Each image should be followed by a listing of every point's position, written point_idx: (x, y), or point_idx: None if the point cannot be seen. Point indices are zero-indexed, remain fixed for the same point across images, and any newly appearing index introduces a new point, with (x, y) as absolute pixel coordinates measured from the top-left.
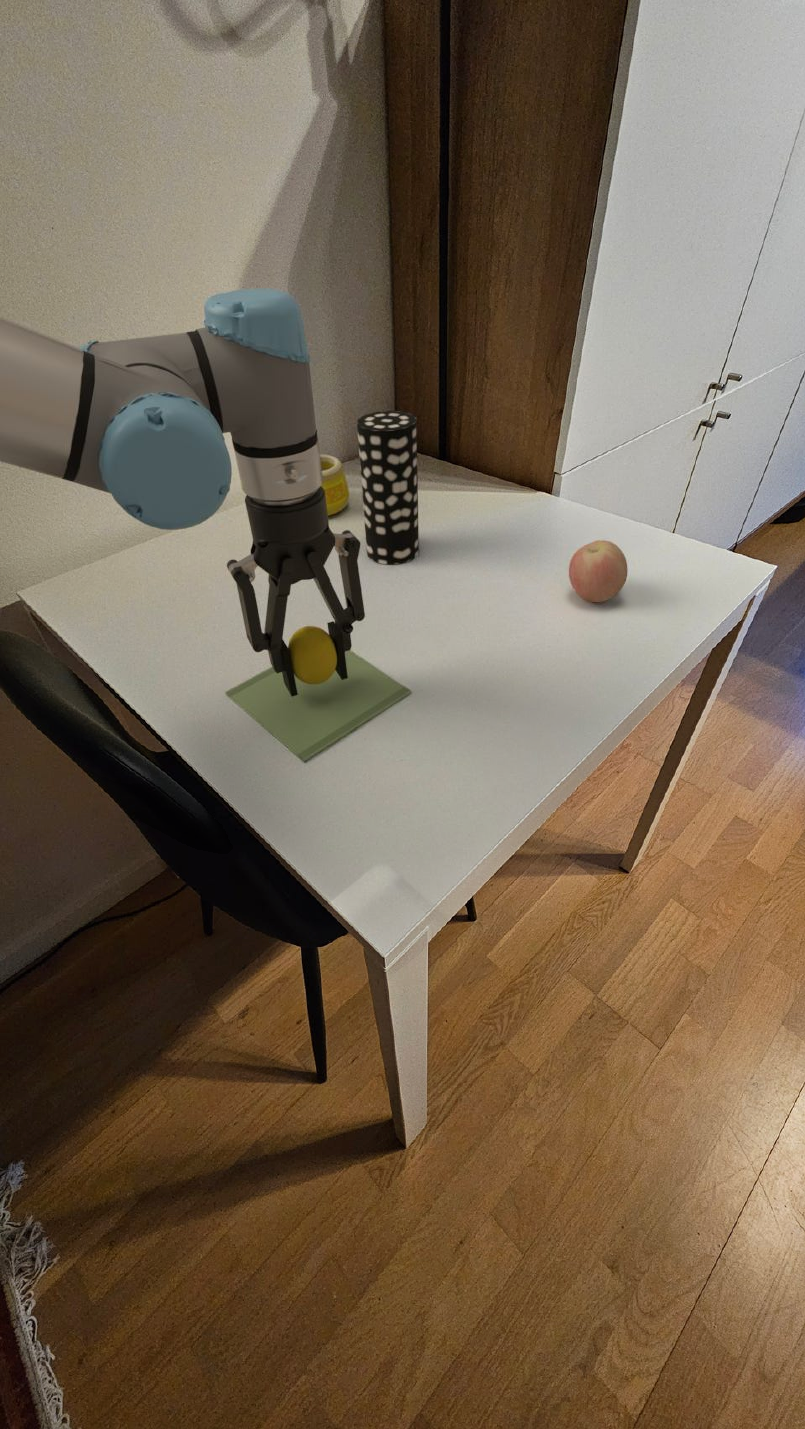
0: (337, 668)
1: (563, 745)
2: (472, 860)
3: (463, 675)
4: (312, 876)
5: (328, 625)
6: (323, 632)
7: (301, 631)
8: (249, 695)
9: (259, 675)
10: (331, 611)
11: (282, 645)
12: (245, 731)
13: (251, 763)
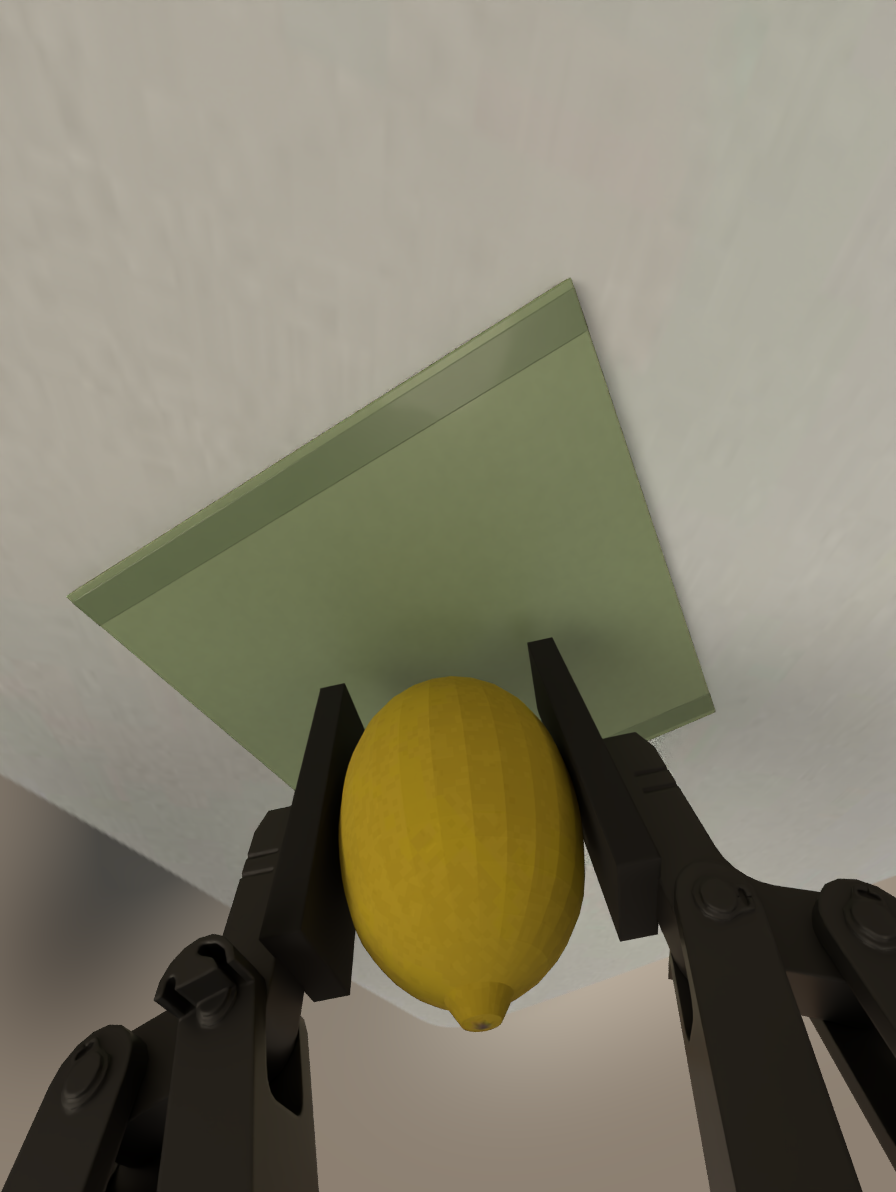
0: (540, 700)
1: (874, 865)
2: (596, 982)
3: (889, 668)
4: (373, 989)
5: (614, 866)
6: (562, 948)
7: (436, 999)
8: (182, 634)
9: (201, 527)
10: (703, 1105)
11: (312, 976)
12: (204, 757)
13: (243, 840)
